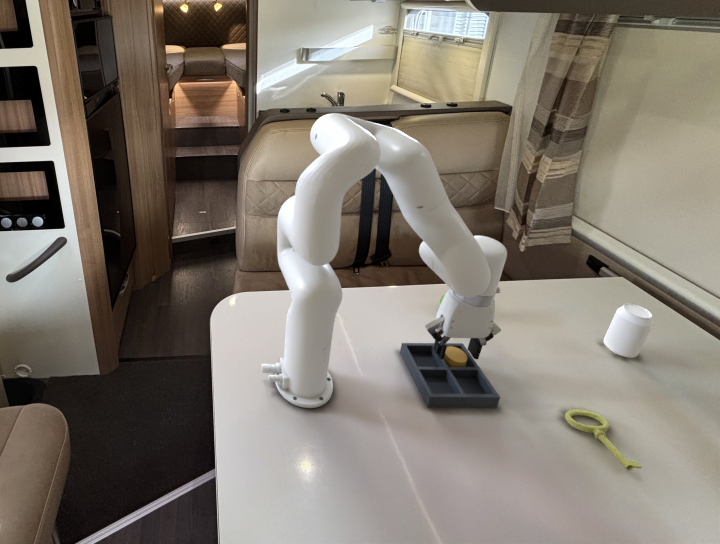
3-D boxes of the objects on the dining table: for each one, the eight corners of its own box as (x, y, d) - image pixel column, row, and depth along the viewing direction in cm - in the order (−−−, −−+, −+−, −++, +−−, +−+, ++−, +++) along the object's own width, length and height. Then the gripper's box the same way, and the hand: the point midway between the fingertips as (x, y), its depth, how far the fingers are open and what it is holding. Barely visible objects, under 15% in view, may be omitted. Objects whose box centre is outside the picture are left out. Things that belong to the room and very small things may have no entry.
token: (448, 372, 96) (450, 362, 95) (438, 355, 100) (440, 346, 99) (468, 372, 96) (471, 362, 95) (457, 355, 100) (460, 346, 99)
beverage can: (642, 355, 101) (662, 315, 96) (627, 363, 99) (646, 323, 94) (611, 336, 106) (629, 298, 102) (596, 344, 104) (613, 305, 100)
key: (628, 477, 76) (632, 469, 75) (558, 415, 87) (561, 408, 86) (656, 466, 78) (660, 458, 77) (584, 406, 89) (588, 399, 88)
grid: (427, 407, 89) (430, 396, 88) (399, 352, 102) (401, 342, 101) (496, 408, 89) (500, 397, 87) (459, 353, 102) (462, 343, 101)
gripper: (503, 280, 94) (484, 341, 100) (424, 280, 94) (410, 341, 101) (526, 304, 87) (504, 368, 93) (440, 303, 87) (424, 367, 94)
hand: (455, 353), depth 97 cm, fingers open, 7 cm apart
